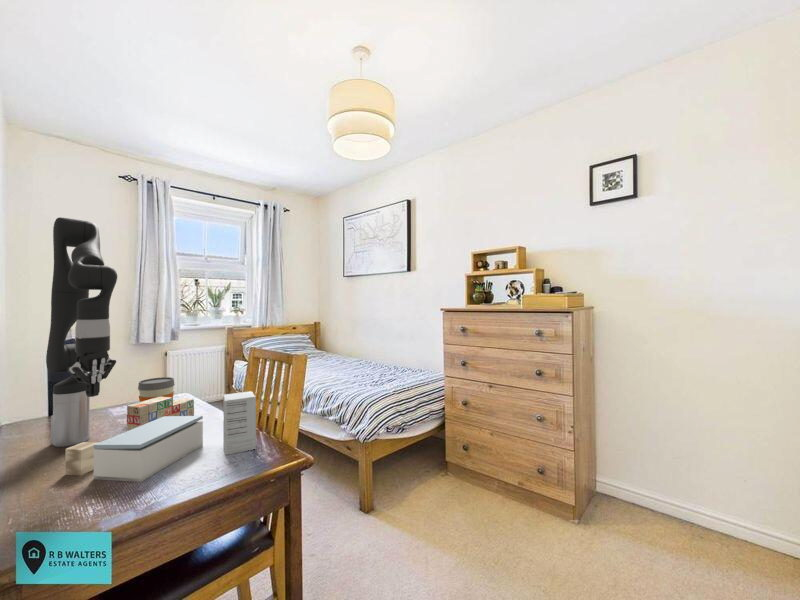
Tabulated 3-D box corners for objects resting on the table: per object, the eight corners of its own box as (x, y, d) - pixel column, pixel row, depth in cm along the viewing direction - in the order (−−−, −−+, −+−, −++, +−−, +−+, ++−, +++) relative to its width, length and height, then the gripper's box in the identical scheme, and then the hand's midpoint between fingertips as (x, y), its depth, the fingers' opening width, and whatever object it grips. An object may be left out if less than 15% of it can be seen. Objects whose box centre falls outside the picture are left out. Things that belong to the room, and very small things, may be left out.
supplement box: (256, 449, 114) (256, 396, 114) (224, 455, 109) (224, 400, 109) (253, 439, 122) (252, 390, 122) (223, 445, 117) (222, 393, 118)
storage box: (93, 479, 95) (93, 449, 95) (164, 443, 119) (164, 419, 119) (140, 482, 93) (140, 451, 93) (202, 445, 117) (202, 421, 117)
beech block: (65, 474, 98) (65, 449, 98) (83, 466, 103) (83, 441, 103) (81, 475, 97) (81, 449, 97) (99, 467, 102) (99, 442, 102)
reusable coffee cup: (146, 413, 153) (146, 378, 153) (179, 410, 156) (179, 376, 156) (132, 422, 141) (131, 384, 141) (167, 419, 144) (167, 382, 144)
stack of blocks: (182, 421, 142) (182, 390, 142) (194, 422, 140) (194, 391, 140) (126, 441, 122) (126, 405, 122) (139, 443, 120) (139, 406, 120)
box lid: (93, 448, 95) (93, 444, 95) (164, 419, 119) (164, 416, 119) (140, 448, 93) (140, 444, 93) (202, 418, 117) (202, 415, 117)
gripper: (103, 332, 108) (102, 389, 108) (56, 337, 95) (56, 402, 95) (125, 333, 108) (125, 390, 108) (81, 338, 94) (81, 403, 94)
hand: (92, 396), depth 101 cm, fingers closed
